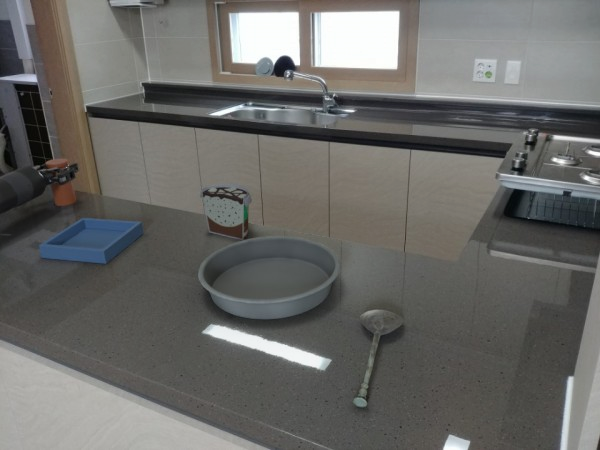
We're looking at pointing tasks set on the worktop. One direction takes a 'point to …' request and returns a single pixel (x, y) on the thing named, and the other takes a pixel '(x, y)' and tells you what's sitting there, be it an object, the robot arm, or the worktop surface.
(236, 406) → the worktop surface
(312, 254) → the cake pan
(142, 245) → the worktop surface
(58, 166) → the orange cylinder
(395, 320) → the soupspoon
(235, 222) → the food container
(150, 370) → the worktop surface
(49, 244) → the tray
